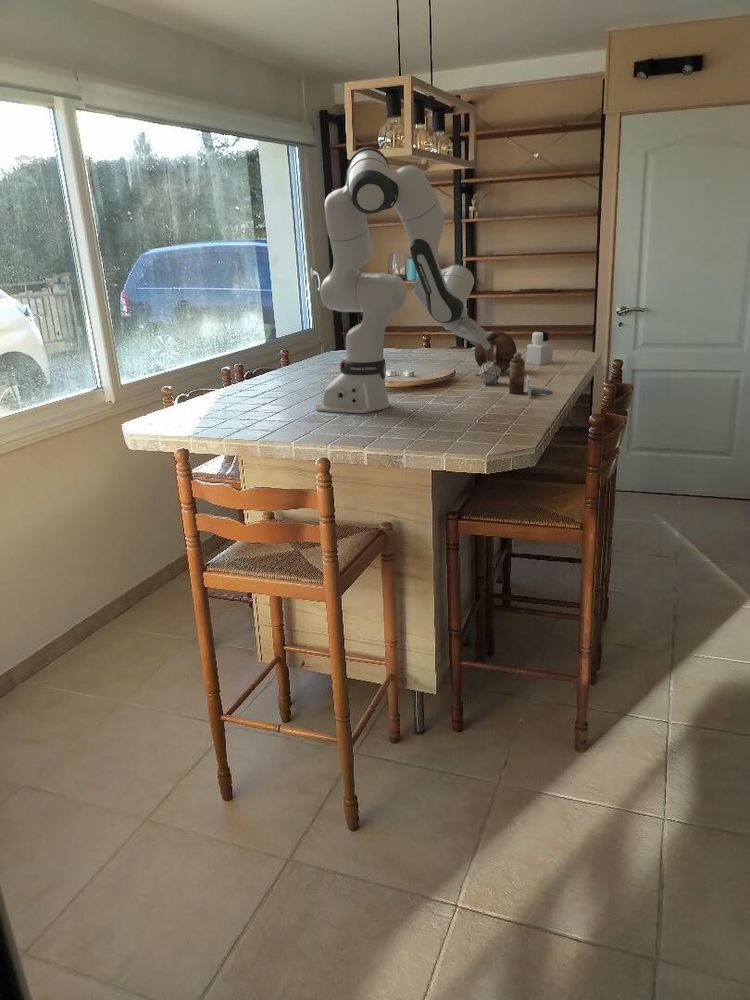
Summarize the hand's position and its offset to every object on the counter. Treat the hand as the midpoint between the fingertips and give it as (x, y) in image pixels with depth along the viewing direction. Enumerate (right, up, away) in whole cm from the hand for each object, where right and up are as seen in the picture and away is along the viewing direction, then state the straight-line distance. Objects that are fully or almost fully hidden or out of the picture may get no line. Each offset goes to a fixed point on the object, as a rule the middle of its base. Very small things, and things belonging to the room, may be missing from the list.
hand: (482, 346), depth 234 cm
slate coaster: (+19, -13, +8) cm, 25 cm away
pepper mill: (+12, -13, +9) cm, 20 cm away
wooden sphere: (+10, -1, +42) cm, 43 cm away
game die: (+6, -9, +23) cm, 25 cm away
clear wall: (+16, -13, +8) cm, 22 cm away
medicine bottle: (+30, +5, +58) cm, 66 cm away
